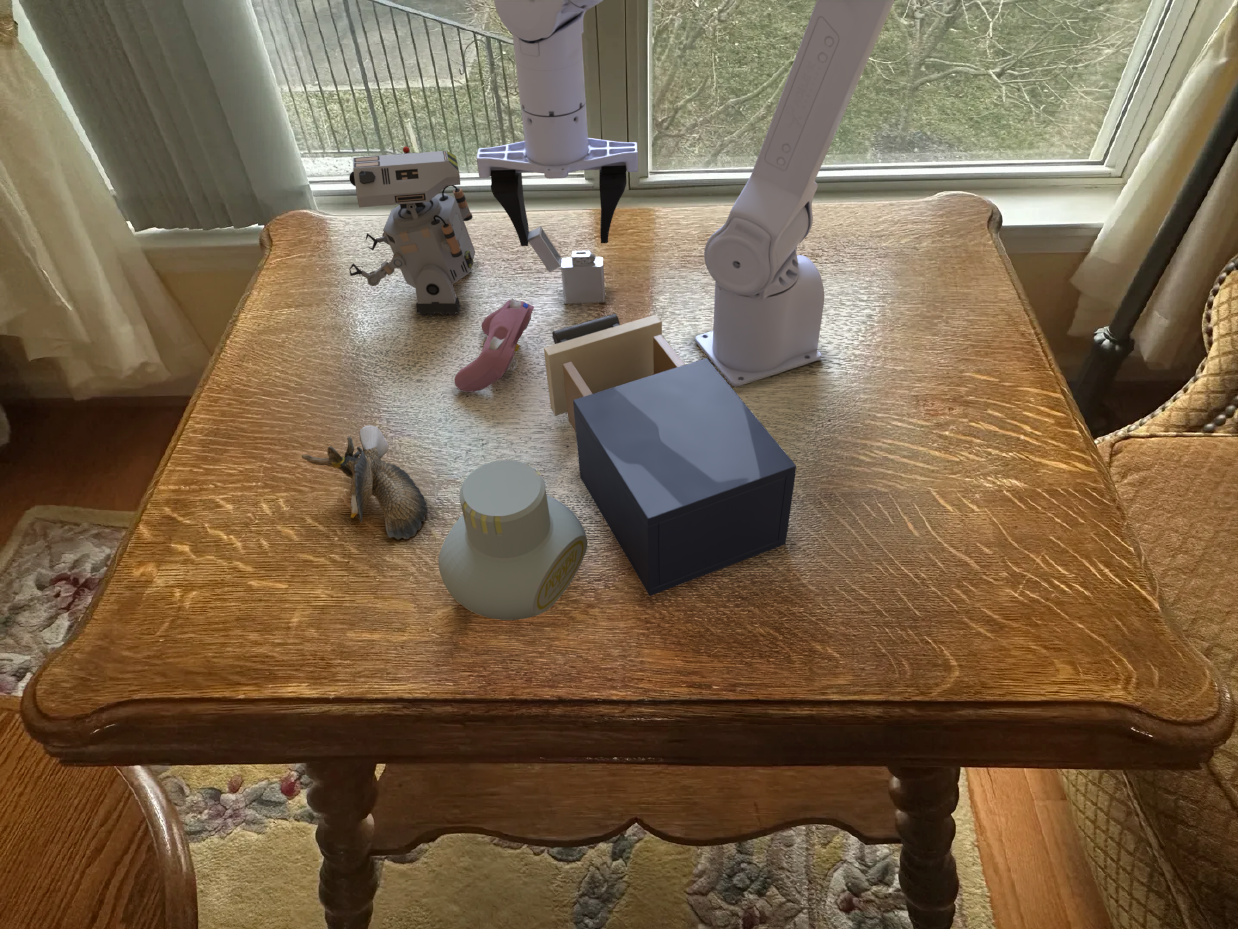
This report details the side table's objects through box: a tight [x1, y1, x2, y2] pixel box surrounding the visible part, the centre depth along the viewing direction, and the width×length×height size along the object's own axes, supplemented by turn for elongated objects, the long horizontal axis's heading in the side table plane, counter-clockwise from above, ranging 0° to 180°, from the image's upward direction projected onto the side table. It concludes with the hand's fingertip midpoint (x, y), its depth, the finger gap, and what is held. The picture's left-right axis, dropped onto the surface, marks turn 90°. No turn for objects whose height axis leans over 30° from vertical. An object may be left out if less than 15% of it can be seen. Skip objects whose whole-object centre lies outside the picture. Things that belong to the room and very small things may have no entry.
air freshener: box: [437, 459, 588, 621], centre depth 67 cm, size 11×8×10 cm
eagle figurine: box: [301, 424, 428, 540], centre depth 75 cm, size 8×7×9 cm
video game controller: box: [454, 297, 535, 393], centre depth 87 cm, size 10×5×7 cm, turn 168°
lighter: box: [528, 226, 606, 304], centre depth 94 cm, size 7×2×8 cm, turn 90°
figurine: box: [348, 146, 476, 317], centre depth 93 cm, size 9×12×15 cm
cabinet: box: [573, 357, 797, 597], centre depth 72 cm, size 14×12×9 cm
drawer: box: [543, 313, 686, 434], centre depth 79 cm, size 17×10×7 cm, turn 24°
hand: (564, 239), depth 91 cm, fingers open, 7 cm apart
